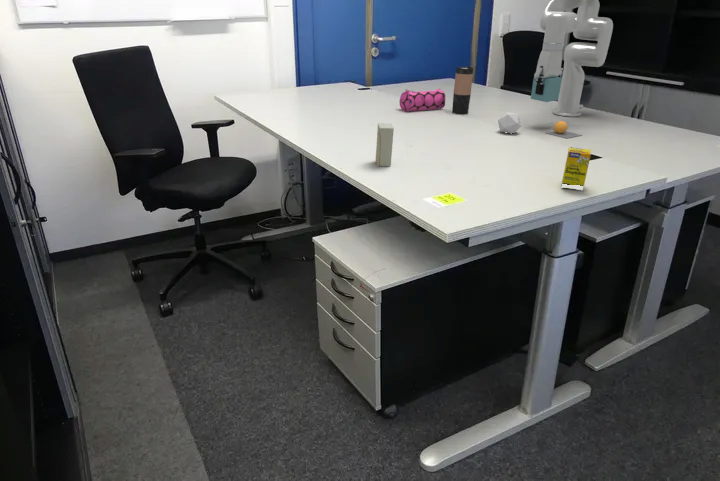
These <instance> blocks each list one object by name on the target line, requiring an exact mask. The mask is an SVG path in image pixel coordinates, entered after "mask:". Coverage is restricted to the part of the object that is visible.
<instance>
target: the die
mask: <svg viewBox="0 0 720 481" xmlns="http://www.w3.org/2000/svg"><path fill="white" fill-rule="evenodd" d="M497 122H498V127H499V131H501V132H507V133H514V134H515V133H516V132H517V131H519V129H520V128H522V123H521V118H520V114H519V113H514V112H509V111H506V112H505V113H503V115H501V116H500V117H499V118H498V119H497ZM501 132H500V133H501ZM507 133H506V134H507Z"/></svg>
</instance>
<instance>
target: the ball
mask: <svg viewBox="0 0 720 481" xmlns="http://www.w3.org/2000/svg"><path fill="white" fill-rule="evenodd" d="M567 130H568V124H567V123H566V122H565V121H563V120H560V121H559V120H558V121H557V122H556V123H554V125H553V131H555V132H556V133H558V134H562V133H564V132H565V131H567Z"/></svg>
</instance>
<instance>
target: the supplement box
mask: <svg viewBox="0 0 720 481" xmlns="http://www.w3.org/2000/svg"><path fill="white" fill-rule="evenodd" d="M567 151H568V152H567V154H566V155H567V156H566V161H565V166H564V171H563V176H562V180H561V185H562V184H567V185H580V186H585V182H586V178H587V173H588V169H589V164H590V160H591V154H592V152H591V151H592V150H591V149H590V148H589V149H588V148H582V147H581V148H580V147H573V146H569V147H568V150H567Z"/></svg>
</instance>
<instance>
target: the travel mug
mask: <svg viewBox="0 0 720 481" xmlns="http://www.w3.org/2000/svg"><path fill="white" fill-rule="evenodd" d="M473 75H474V67H471V66H460V67H458V66H456V68H455V77H454V85H453V95H452V96H453V97H452V111H451V112H452V114H455V115H468V113H469V107H470V103H471V102H470V101H471V96H472V95H471V94H472V86H473V77H474V76H473Z"/></svg>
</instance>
